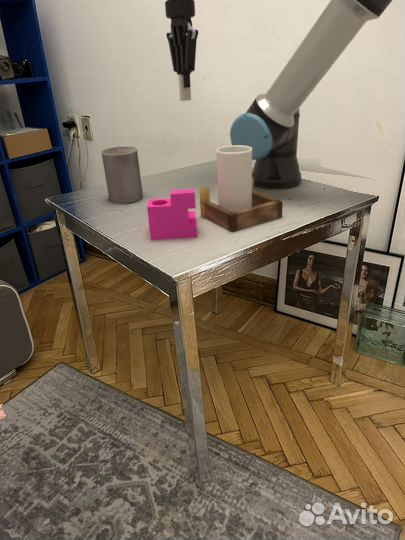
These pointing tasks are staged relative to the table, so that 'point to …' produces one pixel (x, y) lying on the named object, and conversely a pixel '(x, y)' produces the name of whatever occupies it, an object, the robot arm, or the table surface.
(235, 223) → the bay
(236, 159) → the cup
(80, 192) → the table surface
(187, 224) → the bracket
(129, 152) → the pillar candle
